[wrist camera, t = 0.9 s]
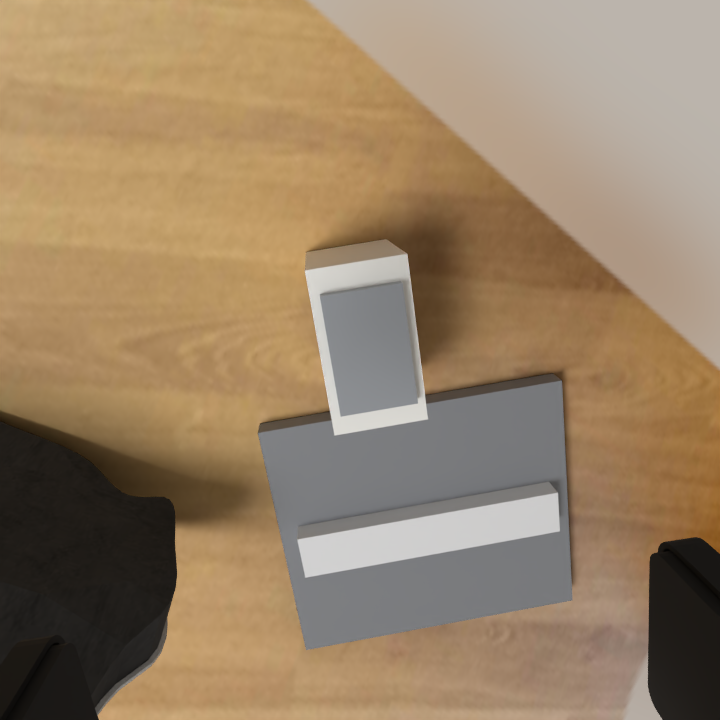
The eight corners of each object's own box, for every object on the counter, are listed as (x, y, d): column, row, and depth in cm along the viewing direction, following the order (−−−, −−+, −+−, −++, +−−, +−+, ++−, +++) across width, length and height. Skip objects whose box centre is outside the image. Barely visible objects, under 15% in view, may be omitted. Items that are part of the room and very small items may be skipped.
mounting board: (259, 423, 31) (255, 443, 28) (552, 373, 31) (571, 388, 29) (306, 634, 35) (305, 666, 32) (564, 586, 35) (581, 614, 33)
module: (306, 252, 28) (304, 272, 22) (386, 239, 28) (409, 255, 22) (329, 384, 30) (334, 440, 24) (403, 372, 30) (430, 424, 24)
